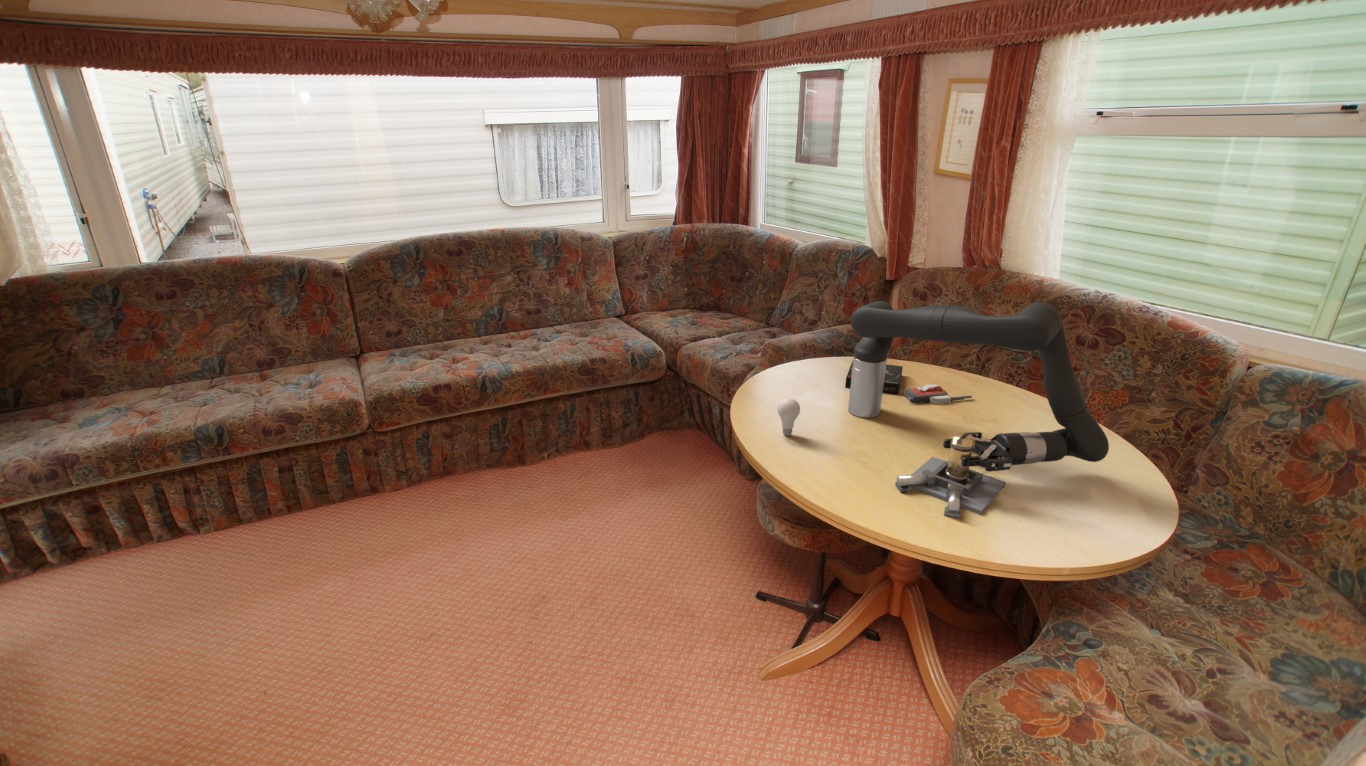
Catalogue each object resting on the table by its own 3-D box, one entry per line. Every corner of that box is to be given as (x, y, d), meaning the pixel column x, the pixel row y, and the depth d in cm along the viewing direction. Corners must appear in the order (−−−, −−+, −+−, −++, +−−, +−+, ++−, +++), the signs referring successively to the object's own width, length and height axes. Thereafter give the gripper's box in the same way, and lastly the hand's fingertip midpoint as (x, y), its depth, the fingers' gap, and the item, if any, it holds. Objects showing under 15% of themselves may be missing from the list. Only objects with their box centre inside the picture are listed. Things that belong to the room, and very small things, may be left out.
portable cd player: (901, 376, 213) (902, 365, 212) (898, 396, 199) (899, 384, 197) (851, 370, 219) (853, 359, 217) (844, 389, 204) (846, 377, 202)
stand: (931, 459, 161) (933, 449, 160) (1005, 485, 149) (1008, 475, 148) (903, 484, 150) (904, 473, 149) (980, 514, 139) (982, 503, 138)
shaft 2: (945, 496, 145) (948, 483, 144) (960, 499, 144) (963, 486, 143) (943, 515, 139) (946, 501, 137) (959, 518, 138) (962, 504, 136)
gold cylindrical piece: (949, 473, 153) (957, 429, 148) (969, 481, 150) (979, 436, 145) (940, 481, 150) (948, 437, 145) (961, 489, 146) (970, 444, 142)
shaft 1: (927, 483, 151) (929, 470, 149) (933, 490, 148) (935, 477, 146) (895, 485, 150) (897, 472, 149) (900, 492, 147) (902, 479, 146)
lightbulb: (773, 430, 177) (775, 394, 172) (795, 429, 177) (797, 393, 173) (778, 440, 171) (780, 404, 167) (800, 439, 171) (803, 403, 167)
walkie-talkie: (914, 408, 190) (973, 402, 194) (916, 395, 188) (975, 389, 192) (899, 396, 198) (956, 391, 202) (900, 383, 196) (958, 378, 200)
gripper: (1004, 420, 153) (940, 424, 151) (1041, 449, 140) (971, 453, 138) (998, 447, 156) (935, 451, 154) (1034, 478, 143) (966, 482, 141)
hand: (953, 452), depth 146 cm, fingers open, 8 cm apart
